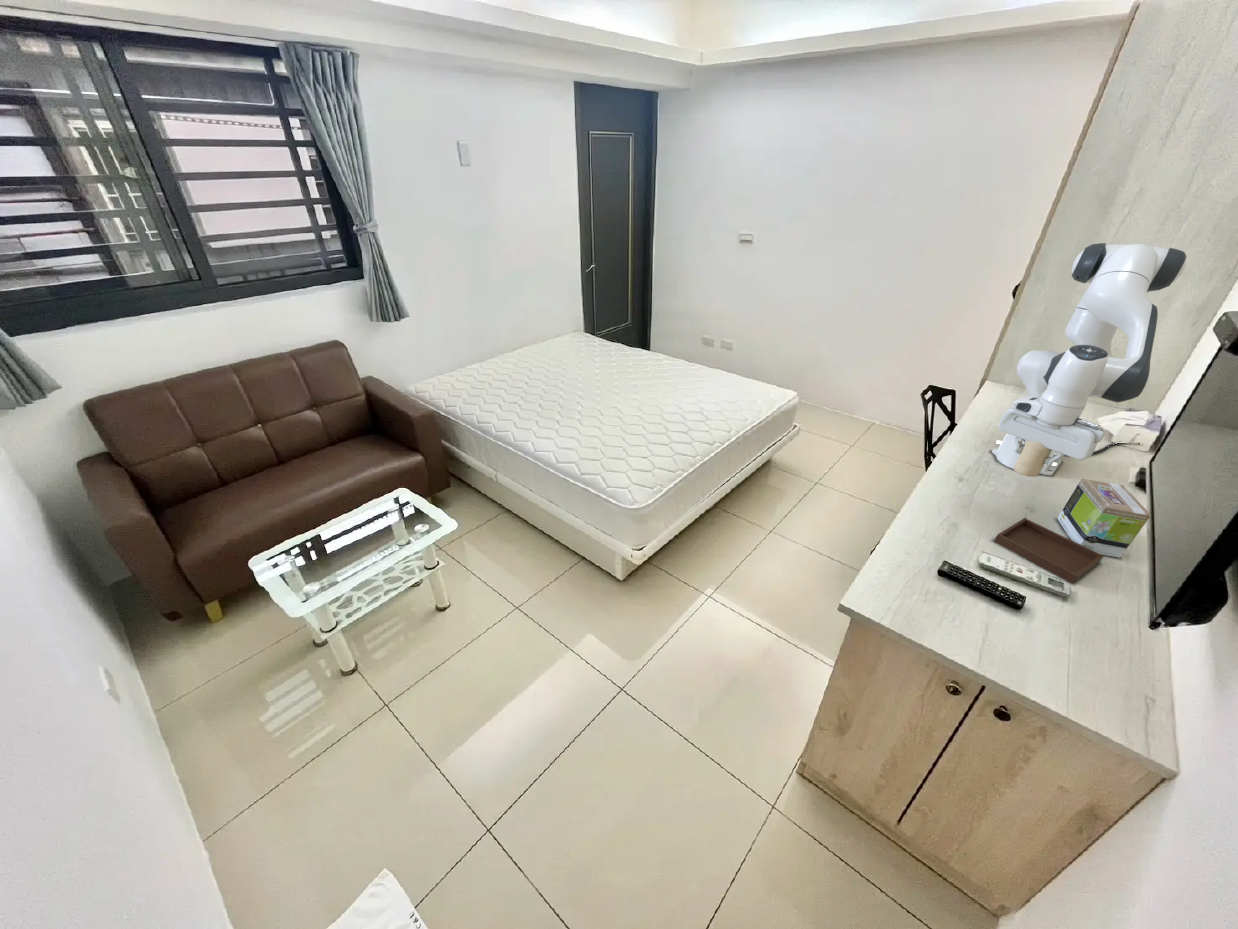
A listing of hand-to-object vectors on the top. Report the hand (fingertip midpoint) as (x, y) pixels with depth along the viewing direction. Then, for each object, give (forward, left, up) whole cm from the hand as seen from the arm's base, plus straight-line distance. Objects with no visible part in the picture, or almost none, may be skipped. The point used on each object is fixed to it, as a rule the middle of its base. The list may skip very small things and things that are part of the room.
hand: (1032, 458), depth 128 cm
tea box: (-17, +15, -24) cm, 33 cm away
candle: (0, 0, -4) cm, 4 cm away
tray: (0, +12, -23) cm, 26 cm away
